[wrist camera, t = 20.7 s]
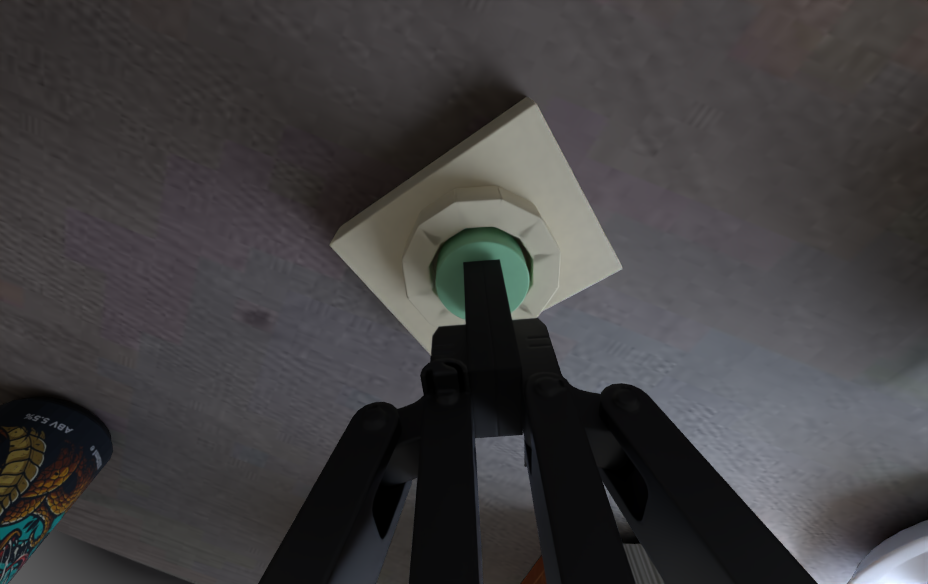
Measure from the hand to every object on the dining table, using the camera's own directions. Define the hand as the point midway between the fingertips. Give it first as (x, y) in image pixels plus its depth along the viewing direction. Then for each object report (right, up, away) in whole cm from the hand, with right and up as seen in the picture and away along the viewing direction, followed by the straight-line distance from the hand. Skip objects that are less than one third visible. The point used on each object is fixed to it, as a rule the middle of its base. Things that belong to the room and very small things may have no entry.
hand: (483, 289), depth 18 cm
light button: (0, +1, +2) cm, 2 cm away
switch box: (0, +3, +4) cm, 5 cm away
